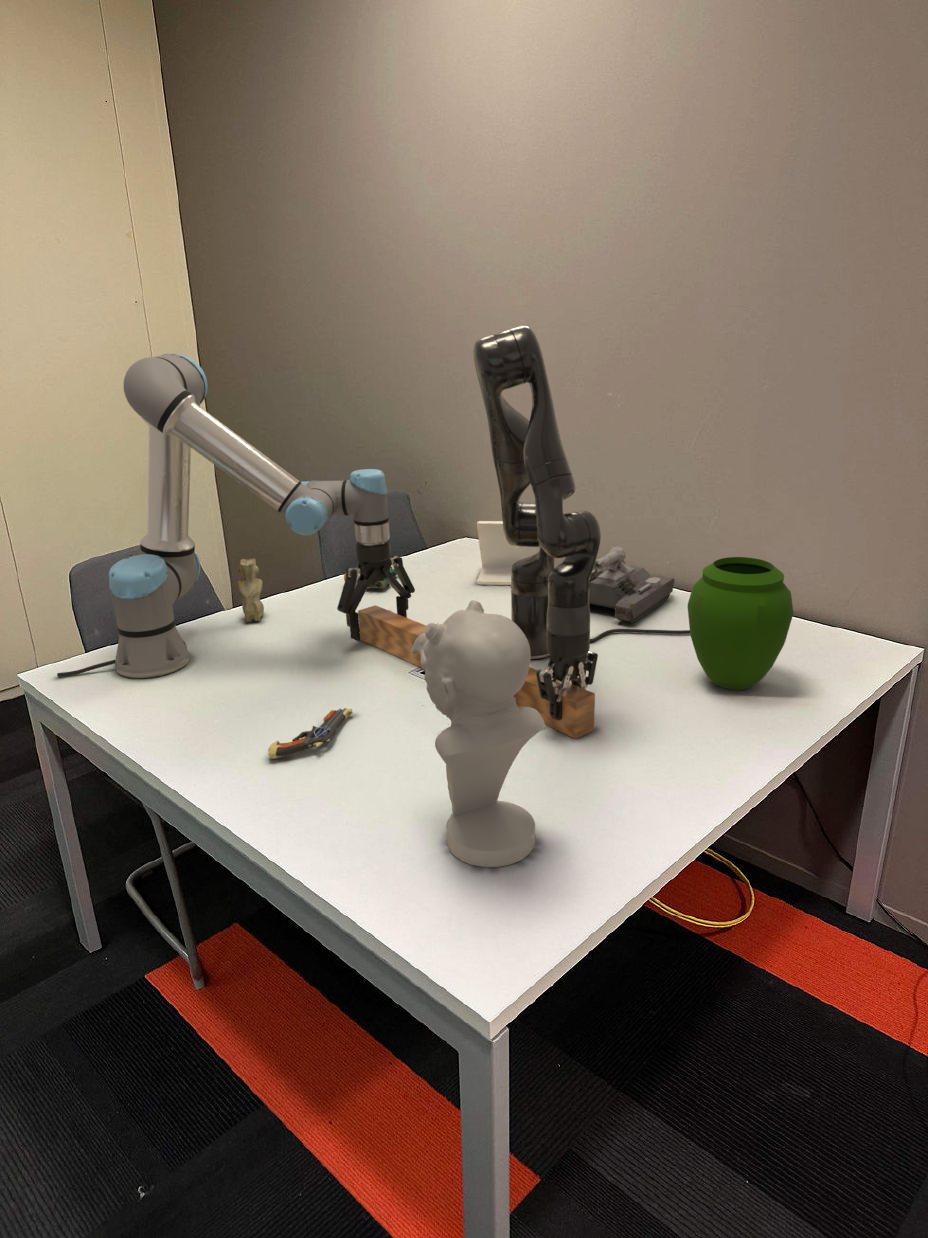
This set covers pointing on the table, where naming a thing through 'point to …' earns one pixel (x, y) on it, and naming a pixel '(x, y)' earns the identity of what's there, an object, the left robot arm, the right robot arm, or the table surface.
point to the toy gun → (311, 735)
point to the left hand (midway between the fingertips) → (379, 631)
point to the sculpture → (250, 590)
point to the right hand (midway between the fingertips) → (566, 713)
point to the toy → (626, 587)
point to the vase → (739, 620)
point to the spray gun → (380, 583)
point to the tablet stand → (500, 554)
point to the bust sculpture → (481, 729)
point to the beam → (576, 702)
